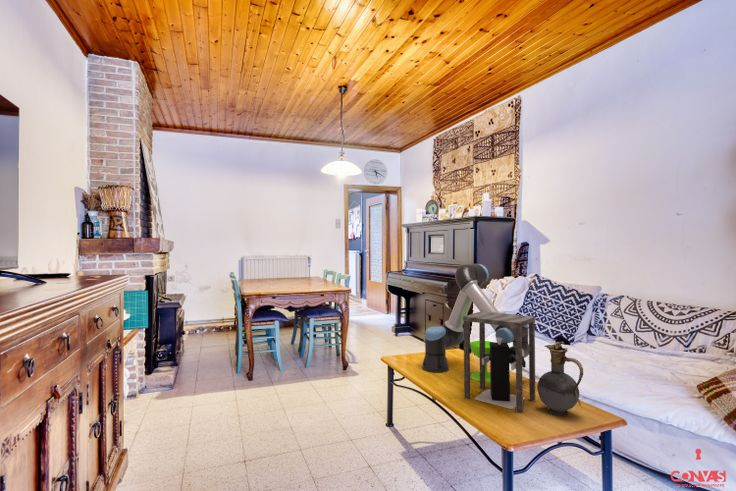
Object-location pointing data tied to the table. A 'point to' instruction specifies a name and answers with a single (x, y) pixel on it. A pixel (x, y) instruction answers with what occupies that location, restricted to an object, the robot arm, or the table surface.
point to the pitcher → (559, 383)
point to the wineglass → (476, 350)
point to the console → (516, 322)
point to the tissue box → (499, 371)
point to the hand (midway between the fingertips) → (496, 364)
